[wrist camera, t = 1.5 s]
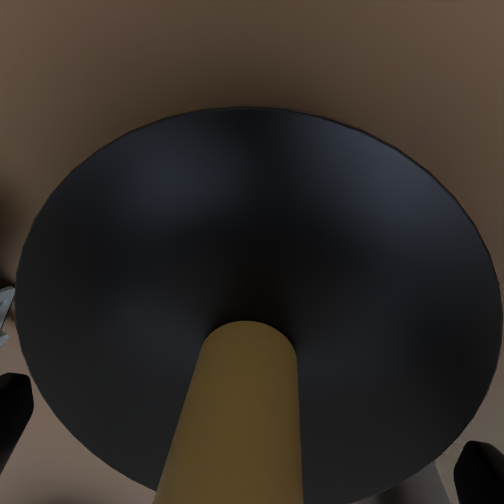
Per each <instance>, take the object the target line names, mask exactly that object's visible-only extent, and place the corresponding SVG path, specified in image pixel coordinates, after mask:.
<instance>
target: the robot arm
mask: <svg viewBox="0 0 504 504" xmlns="http://www.w3.org/2000/svg"><path fill="white" fill-rule="evenodd" d="M33 408H34V402H33V395H32V388H31V381H30V378H29V377H28V376H27V375H24V374H18V373H5V374H3V375H1V376H0V474H1V473H2V471H3V469H4V467H5V465H6V463H7V461H8V459H9V457H10V456H11V454H12V452H13V450H14V448H15V446H16V444H17V442H18V440H19V438H20V437H21V435H22V433H23V431H24V429H25V427H26V425H27V423H28V421H29V419H30V418H31V415H32V413H33ZM454 482H455V487H456V491H457V495H458V499H459V503H460V504H504V455H503V454H502V453H501V452H500V451H499V450H498V449H497V448H495V447H494V446H493V445H491V444H489V443H485V442H478V441H468V442H467V443H466V444H465V446H464V448H463V450H462V452H461V454H460V457H459V459H458V461H457V463H456V465H455V468H454Z"/></svg>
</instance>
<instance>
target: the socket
mask: <svg viewBox="0 0 504 504" xmlns="http://www.w3.org/2000/svg"><path fill="white" fill-rule="evenodd" d="M352 504H450V501H449V498H448V496H447V493H446V491H445V488H444V486H443V483H442V481H441V478H440V476H439V473H438V471H437V468H436V465H435V463H434V461H432V462H431V463H430V464H428V465H427V466H426V467H425V468H423V469H422V470H421V471H419V472H418V473H416V474H414V475H413V476H411V477H410V478H408V479H406V480H405V481H403V482H401V483H400V484H398V485H396V486H394V487H392V488H389V489H387V490H385V491H383V492H381V493H379V494H377V495H374V496H372V497H369V498H366V499H363V500H360V501H357V502H354V503H352Z"/></svg>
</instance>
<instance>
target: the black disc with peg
mask: <svg viewBox="0 0 504 504" xmlns="http://www.w3.org/2000/svg"><path fill="white" fill-rule="evenodd" d="M14 306H15V319H16V328H17V333H18V337H19V341H20V346H21V350H22V353H23V356H24V359H25V361H26V364H27V366H28V369H29V372H30V374H31V376H32V378H33V380H34V382H35V384H36V386H37V388H38V389H39V391H40V393H41V395H42V397H43V398H44V400H45V401H46V403H47V404H48V405H49V407H50V408H51V410H52V411H53V413H54V414H55V415H56V417H57V418H58V419H59V420H60V421H61V423H62V424H63V425H64V426H65V427H66V428H67V429H68V430H69V432H70V433H71V434H72V435H73V436H74V437H75V438H76V439H77V440H78V441H79V442H81V443H82V444H83V445H84V446H85V447H86V448H87V449H88V450H89V451H90V452H92V453H93V454H94V455H96V456H97V457H98V458H100V459H101V460H102V461H104V462H105V463H106V464H108V465H109V466H110V467H112V468H113V469H115V470H117V471H118V472H120V473H122V474H123V475H125V476H127V477H128V478H130V479H132V480H133V481H135V482H137V483H139V484H142V485H144V486H146V487H148V488H150V489H152V490H154V491H156V495H155V498H154V501H153V504H352V503H354V502H357V501H360V500H363V499H366V498H369V497H372V496H374V495H377V494H379V493H381V492H383V491H385V490H387V489H389V488H392V487H394V486H396V485H398V484H400V483H401V482H403V481H405V480H406V479H408V478H410V477H411V476H413V475H414V474H416V473H418V472H419V471H421V470H422V469H423V468H425V467H426V466H427V465H428V464H430V463H431V462H432V461H434V460H435V459H436V458H438V457H439V456H440V455H441V454H442V453H443V452H444V451H445V450H446V449H447V448H448V447H449V446H450V445H451V444H452V443H453V442H454V441H455V440H456V439H457V438H458V437H459V436H460V434H461V433H462V432H463V430H464V429H465V428H466V427H467V425H468V424H469V423H470V421H471V420H472V419H473V418H474V416H475V414H476V412H477V411H478V409H479V407H480V405H481V403H482V402H483V400H484V398H485V396H486V395H487V392H488V390H489V387H490V384H491V382H492V379H493V376H494V374H495V371H496V368H497V363H498V358H499V353H500V349H501V344H502V324H503V311H502V303H501V295H500V288H499V282H498V279H497V276H496V272H495V269H494V266H493V263H492V259H491V256H490V253H489V251H488V249H487V247H486V245H485V243H484V241H483V239H482V238H481V236H480V234H479V232H478V230H477V228H476V226H475V224H474V223H473V221H472V220H471V218H470V217H469V216H468V214H467V213H466V212H465V210H464V209H463V208H462V206H461V205H460V203H459V202H458V201H457V199H456V198H455V197H454V196H453V195H452V194H451V193H450V192H449V191H448V190H447V189H446V188H445V187H444V186H443V185H442V184H441V183H440V182H439V181H438V180H437V179H436V178H435V177H434V176H433V175H432V174H431V173H430V172H429V171H428V170H427V169H425V168H424V167H423V166H421V165H420V164H418V163H417V162H416V161H414V160H413V159H412V158H410V157H409V156H408V155H406V154H405V153H403V152H402V151H401V150H399V149H398V148H396V147H395V146H393V145H391V144H389V143H387V142H385V141H383V140H381V139H380V138H378V137H376V136H374V135H372V134H370V133H368V132H366V131H364V130H362V129H360V128H358V127H355V126H353V125H350V124H347V123H344V122H341V121H338V120H336V119H333V118H330V117H327V116H324V115H321V114H316V113H311V112H306V111H301V110H296V109H291V108H286V107H274V106H258V105H235V106H223V107H211V108H204V109H199V110H195V111H190V112H186V113H182V114H177V115H173V116H169V117H165V118H163V119H160V120H157V121H155V122H152V123H150V124H147V125H145V126H142V127H139V128H137V129H134V130H132V131H129V132H127V133H126V134H124V135H122V136H121V137H119V138H117V139H115V140H114V141H112V142H110V143H108V144H107V145H105V146H103V147H101V148H100V149H98V150H97V151H96V152H94V153H93V154H92V155H91V156H89V157H88V158H87V159H86V160H84V161H83V162H82V163H81V164H79V165H78V166H77V167H76V168H74V169H73V170H72V171H71V172H70V173H69V174H68V175H67V177H66V178H65V179H64V180H63V181H62V182H61V183H60V184H59V185H58V186H57V188H56V189H55V190H54V191H53V192H52V193H51V194H50V196H49V198H48V199H47V201H46V202H45V204H44V205H43V207H42V208H41V210H40V212H39V213H38V215H37V216H36V218H35V219H34V222H33V224H32V226H31V229H30V231H29V233H28V236H27V238H26V240H25V243H24V245H23V248H22V252H21V256H20V260H19V264H18V268H17V272H16V282H15V295H14Z"/></svg>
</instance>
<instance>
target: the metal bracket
mask: <svg viewBox="0 0 504 504" xmlns="http://www.w3.org/2000/svg"><path fill="white" fill-rule="evenodd" d="M14 294H15V288H13V287H12V286H8V287H5V288H2V289H0V346H2V345H3V344H4V343H5V342H6V340H7V339H8V338H9V337H8V335H7V334H6V333H3V332H2V330H1V326H2V324H3V321H4V319H5V316H6V314H7V311H8V309H9V306H10V304H11V301H12V299H13V296H14ZM1 301H2V302H1Z"/></svg>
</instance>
